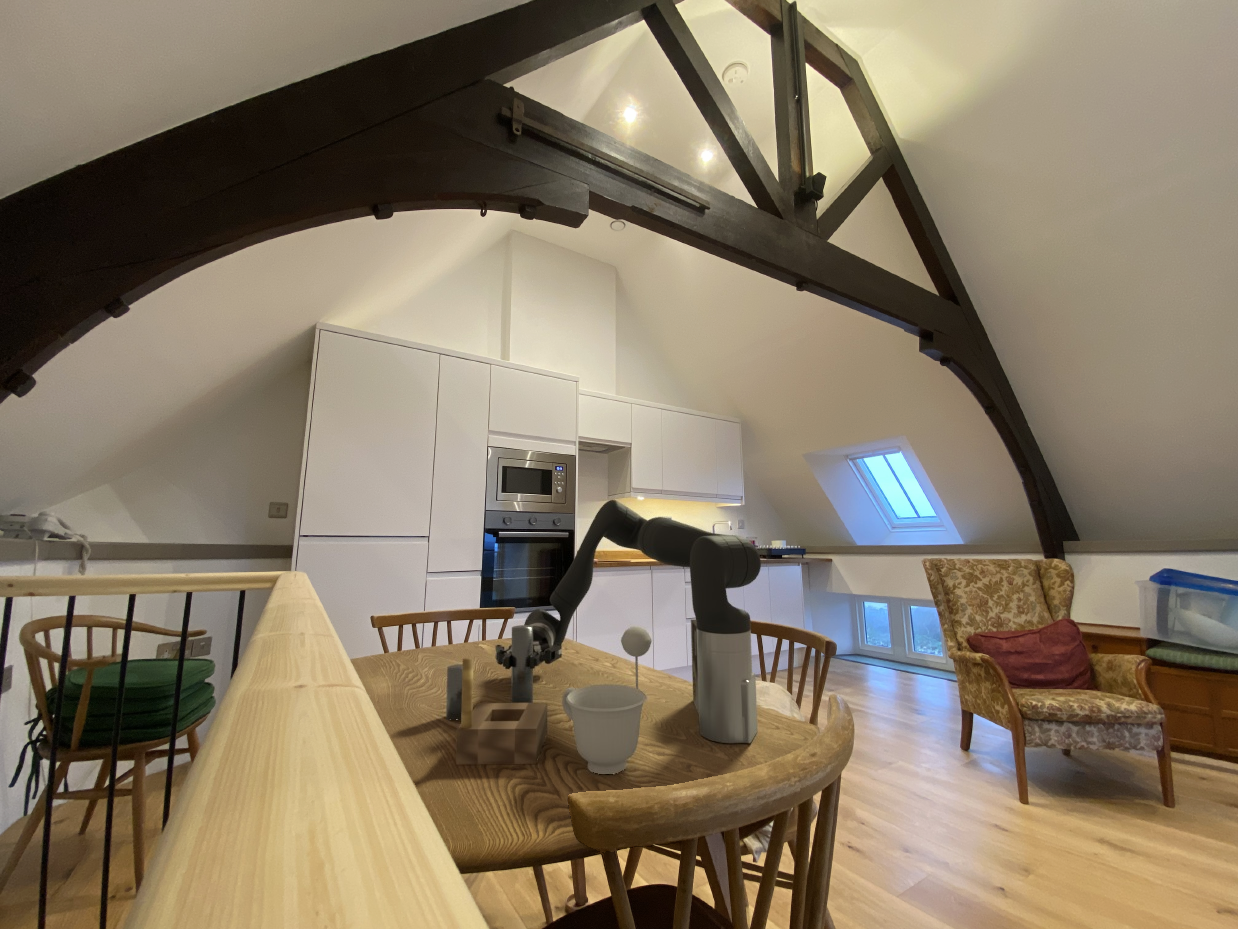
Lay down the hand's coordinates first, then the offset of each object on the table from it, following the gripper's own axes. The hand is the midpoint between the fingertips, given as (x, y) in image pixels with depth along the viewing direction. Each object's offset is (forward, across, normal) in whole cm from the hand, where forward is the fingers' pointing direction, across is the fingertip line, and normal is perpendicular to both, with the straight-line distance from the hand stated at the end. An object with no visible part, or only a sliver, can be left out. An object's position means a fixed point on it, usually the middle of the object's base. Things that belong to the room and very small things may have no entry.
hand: (519, 663), depth 99 cm
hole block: (+11, 0, +10) cm, 15 cm away
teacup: (+18, +15, +11) cm, 26 cm away
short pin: (-3, -12, +10) cm, 16 cm away
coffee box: (-7, +36, +11) cm, 38 cm away
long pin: (-3, 0, +9) cm, 9 cm away
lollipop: (-9, +22, +11) cm, 26 cm away
